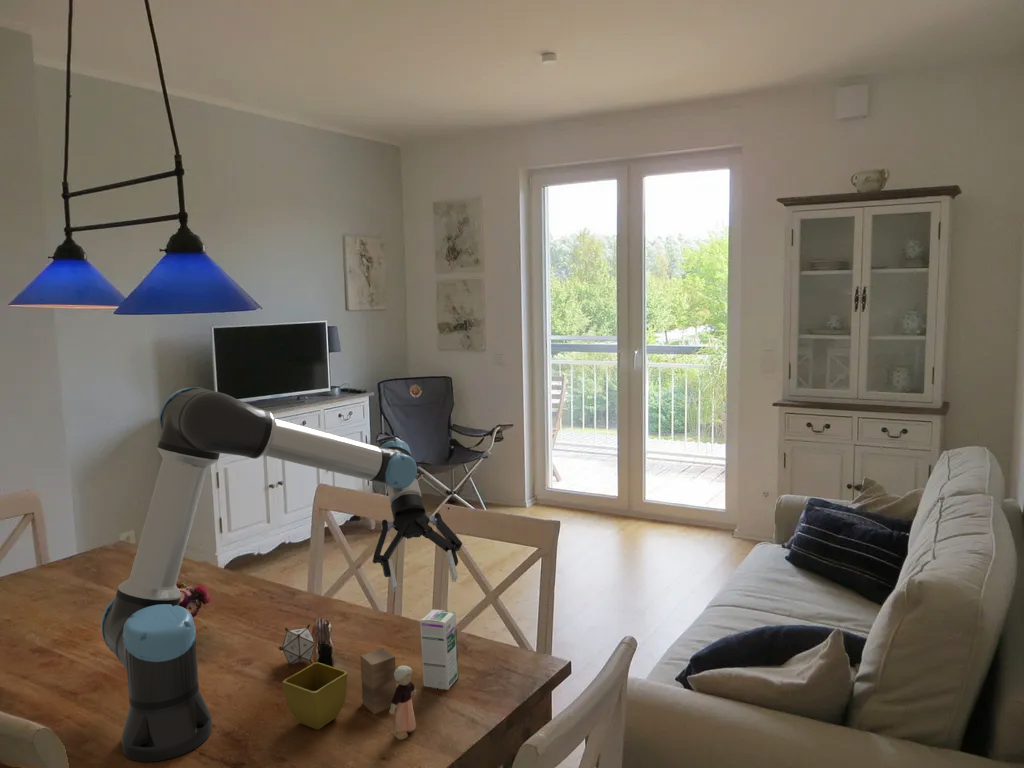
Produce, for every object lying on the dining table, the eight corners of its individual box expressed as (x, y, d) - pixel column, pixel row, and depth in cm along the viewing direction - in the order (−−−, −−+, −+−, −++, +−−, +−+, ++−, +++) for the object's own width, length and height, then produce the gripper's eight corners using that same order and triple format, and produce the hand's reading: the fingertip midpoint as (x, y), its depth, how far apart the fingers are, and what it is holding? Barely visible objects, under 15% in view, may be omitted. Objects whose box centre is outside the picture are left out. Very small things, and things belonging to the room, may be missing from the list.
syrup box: (448, 690, 156) (446, 622, 154) (422, 686, 158) (419, 619, 156) (459, 677, 161) (457, 611, 159) (433, 673, 163) (431, 608, 161)
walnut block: (374, 714, 148) (371, 664, 147) (362, 703, 152) (360, 655, 151) (397, 705, 151) (395, 657, 149) (385, 695, 155) (383, 648, 153)
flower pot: (317, 739, 140) (314, 692, 139) (283, 726, 144) (281, 680, 143) (351, 716, 147) (348, 671, 146) (318, 704, 152) (316, 661, 151)
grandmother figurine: (407, 744, 137) (404, 677, 136) (387, 741, 138) (384, 674, 137) (423, 721, 145) (421, 657, 143) (404, 718, 146) (402, 655, 144)
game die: (304, 682, 168) (304, 659, 162) (270, 666, 169) (269, 643, 163) (326, 647, 175) (326, 624, 168) (293, 632, 176) (292, 609, 169)
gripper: (454, 502, 187) (475, 582, 175) (351, 515, 178) (366, 601, 166) (459, 486, 182) (482, 567, 170) (354, 498, 173) (370, 585, 161)
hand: (425, 584), depth 168 cm, fingers open, 13 cm apart
